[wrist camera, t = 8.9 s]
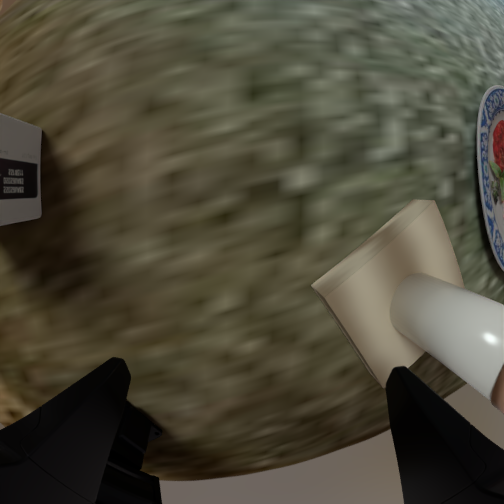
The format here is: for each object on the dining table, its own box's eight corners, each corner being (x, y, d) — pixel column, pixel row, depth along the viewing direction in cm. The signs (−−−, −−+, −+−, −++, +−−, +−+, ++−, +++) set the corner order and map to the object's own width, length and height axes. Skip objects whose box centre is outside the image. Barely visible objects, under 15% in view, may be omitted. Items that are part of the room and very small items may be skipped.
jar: (383, 337, 20) (493, 432, 7) (393, 272, 19) (536, 339, 6) (429, 328, 21) (533, 397, 8) (440, 269, 20) (564, 317, 7)
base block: (369, 372, 24) (383, 388, 21) (310, 285, 22) (324, 297, 19) (450, 296, 24) (468, 304, 21) (412, 199, 21) (434, 200, 18)
